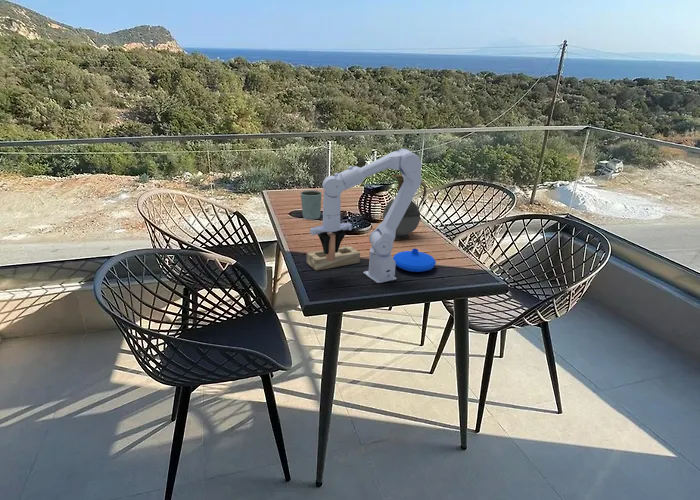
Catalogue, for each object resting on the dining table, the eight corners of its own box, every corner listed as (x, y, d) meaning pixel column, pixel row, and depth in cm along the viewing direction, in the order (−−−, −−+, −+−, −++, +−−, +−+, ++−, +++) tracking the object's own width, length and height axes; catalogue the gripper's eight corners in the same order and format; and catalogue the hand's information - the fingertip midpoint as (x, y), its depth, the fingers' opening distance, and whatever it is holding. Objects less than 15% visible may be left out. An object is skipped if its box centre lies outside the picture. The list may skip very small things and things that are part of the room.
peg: (336, 260, 152) (337, 235, 149) (328, 261, 150) (329, 236, 147) (332, 257, 154) (333, 232, 151) (324, 258, 153) (325, 233, 150)
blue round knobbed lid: (401, 278, 157) (403, 259, 154) (385, 261, 171) (387, 243, 168) (442, 274, 161) (445, 256, 158) (423, 258, 175) (425, 241, 173)
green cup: (320, 220, 215) (320, 195, 211) (299, 219, 215) (299, 194, 211) (322, 214, 225) (322, 190, 220) (301, 213, 225) (301, 189, 220)
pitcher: (378, 234, 199) (382, 166, 188) (415, 230, 206) (422, 165, 195) (389, 242, 190) (394, 171, 179) (428, 238, 197) (435, 169, 186)
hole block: (359, 262, 168) (360, 252, 166) (315, 270, 159) (316, 260, 158) (349, 255, 174) (349, 245, 173) (306, 262, 166) (306, 252, 164)
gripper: (345, 208, 153) (343, 245, 158) (306, 212, 146) (306, 251, 151) (355, 213, 147) (353, 252, 152) (315, 218, 141) (315, 258, 145)
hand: (330, 252), depth 151 cm, fingers closed on peg, 3 cm apart
